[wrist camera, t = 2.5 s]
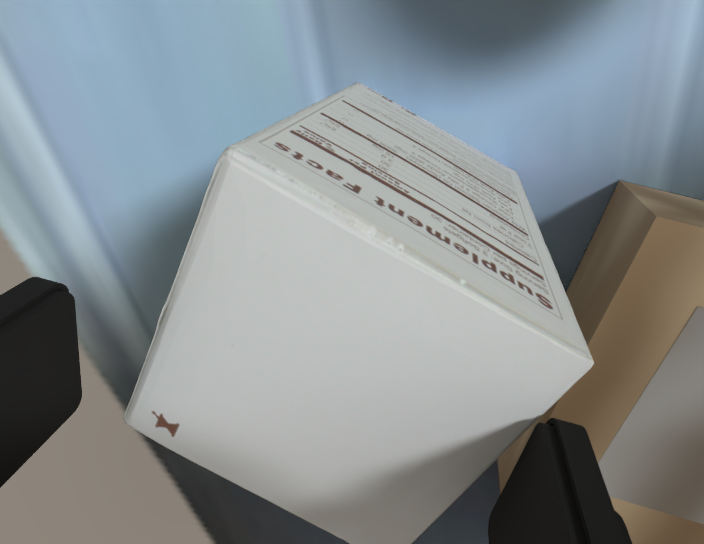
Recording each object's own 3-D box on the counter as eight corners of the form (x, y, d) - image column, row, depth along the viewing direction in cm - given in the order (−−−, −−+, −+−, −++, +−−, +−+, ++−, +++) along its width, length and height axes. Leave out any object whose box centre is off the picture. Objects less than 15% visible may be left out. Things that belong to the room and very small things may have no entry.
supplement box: (424, 306, 23) (388, 577, 11) (283, 226, 22) (105, 426, 11) (524, 170, 19) (613, 371, 8) (359, 71, 19) (209, 138, 8)
